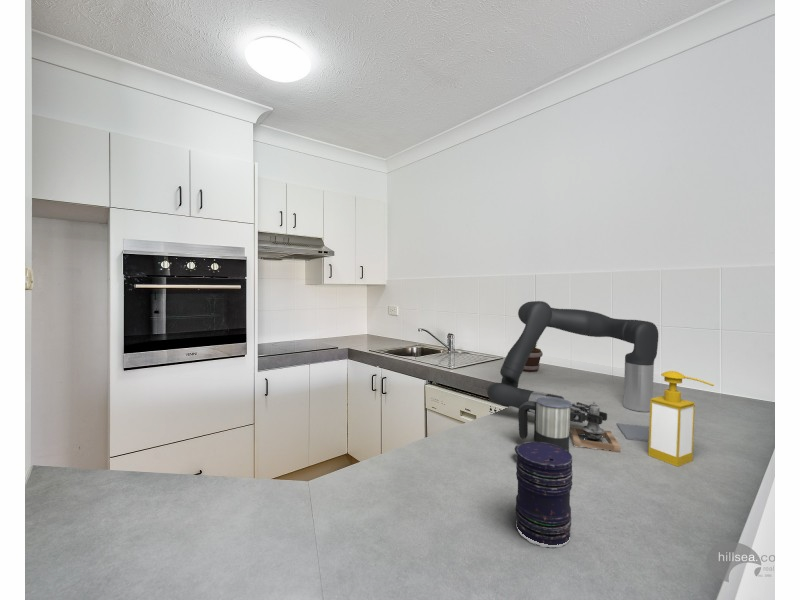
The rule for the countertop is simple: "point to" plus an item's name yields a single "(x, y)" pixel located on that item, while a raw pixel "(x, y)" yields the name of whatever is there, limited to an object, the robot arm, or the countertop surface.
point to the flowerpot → (533, 360)
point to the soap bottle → (672, 423)
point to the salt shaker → (593, 426)
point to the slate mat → (634, 431)
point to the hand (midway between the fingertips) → (604, 418)
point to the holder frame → (611, 439)
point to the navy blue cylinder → (544, 492)
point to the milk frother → (547, 421)
